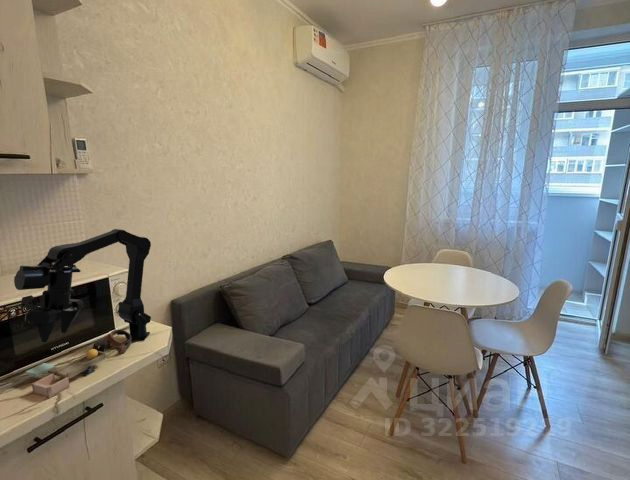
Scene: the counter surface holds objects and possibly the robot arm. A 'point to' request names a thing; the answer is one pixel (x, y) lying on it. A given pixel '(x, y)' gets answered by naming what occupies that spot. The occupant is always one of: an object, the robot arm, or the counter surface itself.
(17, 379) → the counter surface
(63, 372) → the lever
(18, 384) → the counter surface
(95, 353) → the ball
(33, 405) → the counter surface
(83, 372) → the fulcrum
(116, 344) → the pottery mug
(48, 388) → the dish
